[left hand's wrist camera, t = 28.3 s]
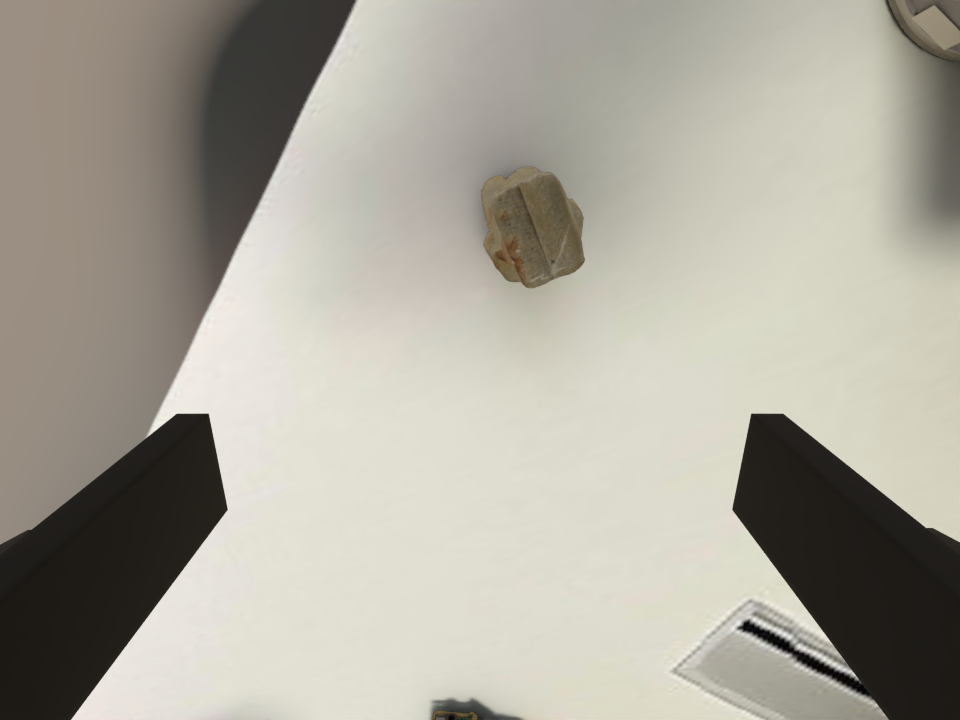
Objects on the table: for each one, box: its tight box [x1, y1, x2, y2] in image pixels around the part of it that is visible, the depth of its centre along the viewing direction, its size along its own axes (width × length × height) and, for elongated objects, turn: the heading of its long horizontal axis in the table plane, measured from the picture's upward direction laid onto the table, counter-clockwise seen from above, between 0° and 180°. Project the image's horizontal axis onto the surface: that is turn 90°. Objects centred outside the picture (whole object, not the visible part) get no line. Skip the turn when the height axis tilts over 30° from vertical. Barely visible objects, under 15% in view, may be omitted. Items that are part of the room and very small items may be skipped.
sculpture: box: [481, 167, 585, 288], centre depth 31 cm, size 6×7×15 cm
